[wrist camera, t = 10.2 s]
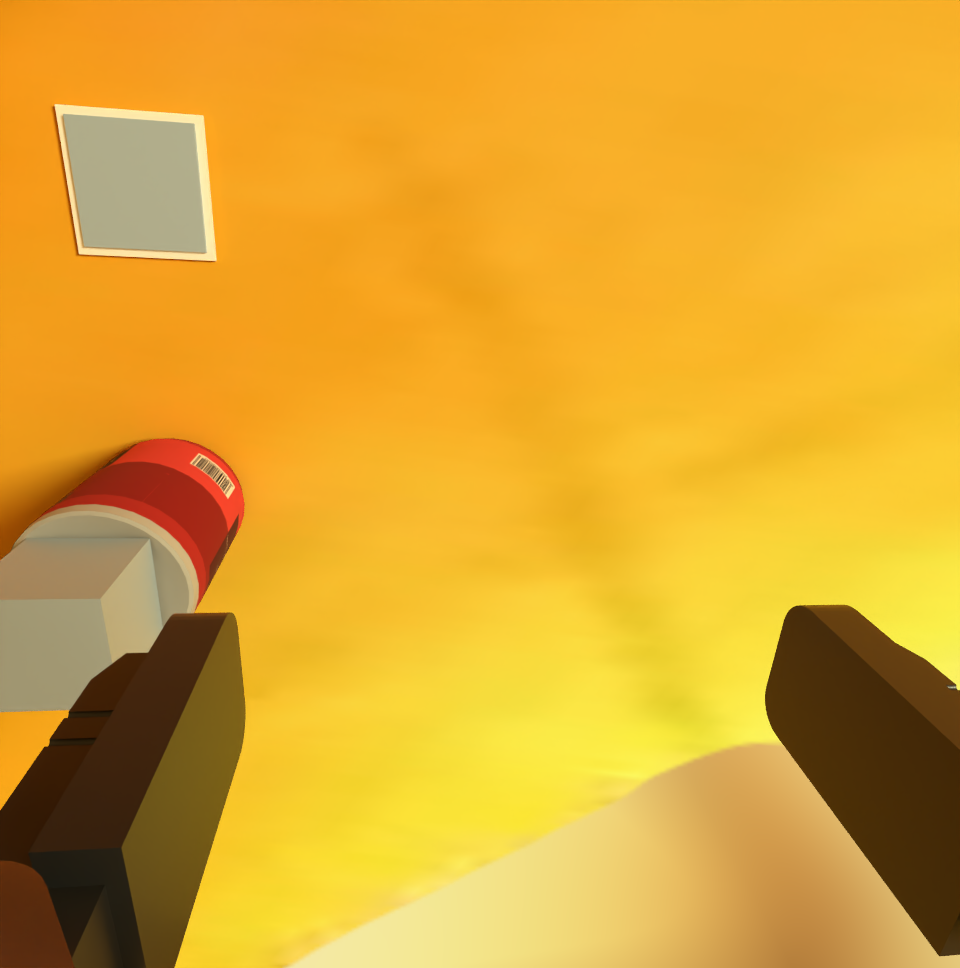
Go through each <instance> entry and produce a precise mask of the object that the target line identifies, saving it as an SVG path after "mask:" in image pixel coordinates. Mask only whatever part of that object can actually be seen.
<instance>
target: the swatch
mask: <svg viewBox="0 0 960 968" xmlns="http://www.w3.org/2000/svg"><path fill="white" fill-rule="evenodd" d="M55 110H56V116H57V122H58V129H59V135H60V141H61V147H62V153H63V159H64V165H65V171H66V178H67V184H68V190H69V196H70V202H71V208H72V214H73V220H74V227H75V233H76V239H77V245H78V251H79V254H85V255H105V256H125V257H145V258H165V259H186V260H206V261H217V259H216V248H215V237H214V226H213V215H212V204H211V193H210V182H209V170H208V159H207V148H206V137H205V126H204V116H202V115H189V114H176V113H163V112H150V111H137V110H123V109H110V108H97V107H84V106H71V105H58V104H55Z"/></svg>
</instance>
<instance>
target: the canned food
mask: <svg viewBox="0 0 960 968" xmlns="http://www.w3.org/2000/svg"><path fill="white" fill-rule="evenodd" d="M243 516H244V499H243V494H242V489H241V486H240V483H239V481H238V479H237V477H236V475H235V474H234V472H233V471H232V469H231V468H230V467H229V465H228V464H227V463H226V462H225V461H224V460H223V459H222V458H220V457H219V456H218V455H216V454H215V453H214V452H212V451H211V450H209V449H207V448H205V447H203V446H201V445H199V444H196V443H193V442H189V441H186V440H179V439H153V440H149V441H144V442H140V443H138V444H135V445H133V446H131V447H128V448H127V449H126V450H124V451H123V452H122V453H120V454H119V455H117V456H116V457H115V458H114V459H112V460H111V461H110V462H108V463H107V464H106V465H105V466H103V467H102V468H101V469H100V470H98V471H97V472H96V473H94V474H93V475H92V476H91V477H89V478H88V479H87V480H85V481H84V482H83V483H82V484H80V485H79V486H78V487H77V488H75V489H74V490H73V491H71V492H70V493H69V494H68V495H66V496H65V497H64V498H62V499H61V500H60V501H59V502H57V503H56V504H55V505H54V506H52V507H51V508H50V509H48V510H47V511H46V512H45V513H43V514H42V515H41V516H40V517H39V518H38V519H37V520H35V521H34V522H33V523H32V524H30V525H29V527H28V528H27V529H26V530H25V531H24V532H23V534H22V535H21V536H20V537H19V538H18V539H17V541H16V542H15V543H14V545H13V547H12V550H13V549H14V548H16V547H17V546H18V545H19V544H21V543H22V542H23V541H24V540H25V539H27V538H150V543H151V549H152V556H153V563H154V570H155V577H156V584H157V590H158V597H159V604H160V611H161V618H162V625H163V627H164V625H165V624H166V622H167V620H168V619H169V617H170V616H171V615H172V614H176V613H194V612H195V610H196V608H197V607H198V605H199V603H200V601H201V600H202V598H203V596H204V594H205V592H206V590H207V588H208V587H209V585H210V583H211V581H212V579H213V577H214V575H215V573H216V571H217V570H218V568H219V566H220V564H221V562H222V560H223V558H224V556H225V554H226V553H227V551H228V549H229V547H230V545H231V543H232V541H233V539H234V538H235V536H236V534H237V532H238V530H239V528H240V526H241V523H242V520H243ZM12 550H11V551H12Z"/></svg>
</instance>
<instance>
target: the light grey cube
mask: <svg viewBox="0 0 960 968" xmlns="http://www.w3.org/2000/svg"><path fill="white" fill-rule="evenodd" d="M162 629H163V625H162V618H161V611H160V604H159V597H158V590H157V584H156V577H155V570H154V563H153V556H152V549H151V543H150V538H27V539H25V540H24V541H23V542H22V543H21V544H19V545H18V546H17V547H16V548H14V549H13V550H12V551H11V552H10V553H8V554H7V555H6V556H5V557H4V558H2V559H1V560H0V712H17V711H49V710H70V709H71V708H72V706H73V705H74V703H75V702H76V700H77V699H78V697H79V696H80V695H81V693H82V692H83V690H84V689H85V687H86V686H87V684H88V683H89V682H90V680H91V679H92V678H94V677H95V676H96V675H98V674H99V673H100V672H102V671H103V670H104V669H106V668H107V667H108V666H110V665H111V664H112V663H114V662H115V661H116V660H118V659H119V658H120V657H122V656H123V655H124V654H126V653H148V652H149V650H150V649H151V647H152V645H153V644H154V642H155V640H156V639H157V637H158V635H159V634H160V632H161V630H162Z"/></svg>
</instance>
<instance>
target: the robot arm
mask: <svg viewBox="0 0 960 968" xmlns="http://www.w3.org/2000/svg"><path fill="white" fill-rule="evenodd" d="M765 705H766V711H767V716H768V719H769V722H770V725H771V727H772V729H773V731H774V732H775V734H776V735H777V737H778V738H779V740H780V741H781V742H782V744H783V745H784V746H785V748H786V749H787V750H788V752H789V753H790V754H791V756H792V757H793V758H794V760H795V761H796V763H797V764H798V765H799V767H800V768H801V769H802V771H803V772H804V773H805V775H806V776H807V778H808V779H809V780H810V782H811V783H812V784H813V786H814V787H815V788H816V790H817V791H818V792H819V794H820V795H821V796H822V798H823V799H824V801H825V802H826V803H827V805H828V806H829V807H830V809H831V810H832V811H833V813H834V814H835V815H836V817H837V818H838V820H839V821H840V822H841V824H842V825H843V826H844V828H845V829H846V830H847V832H848V833H849V834H850V836H851V837H852V838H853V840H854V841H855V843H856V844H857V845H858V847H859V848H860V849H861V851H862V852H863V853H864V855H865V856H866V858H867V859H868V860H869V862H870V863H871V864H872V866H873V867H874V868H875V870H876V871H877V872H878V874H879V875H880V876H881V878H882V879H883V881H884V882H885V883H886V885H887V886H888V887H889V889H890V890H891V891H892V893H893V894H894V895H895V897H896V898H897V900H898V901H899V902H900V903H901V905H902V906H903V907H904V909H905V910H906V912H907V913H908V914H909V916H910V917H911V919H912V920H913V921H914V923H915V924H916V925H917V927H918V928H919V929H920V931H921V932H922V933H923V935H924V936H925V937H926V939H927V940H928V941H929V943H930V944H931V946H932V947H933V948H934V950H935V951H936V952H937V954H938V955H939V956H949V955H960V690H957V688H956V684H955V683H953V682H952V681H951V680H950V679H948V678H947V677H946V676H945V675H944V674H942V673H941V672H940V671H939V670H938V669H936V668H935V667H934V666H933V665H932V664H930V663H929V662H928V661H927V660H925V659H924V658H922V657H920V656H918V655H916V654H915V653H913V652H911V651H909V650H907V649H906V648H904V647H902V646H900V645H898V644H896V643H895V642H894V641H892V640H891V639H890V638H889V637H888V636H886V635H885V634H884V633H883V632H882V631H880V630H879V629H878V628H877V627H876V626H875V625H873V624H872V623H871V622H870V621H869V620H867V619H866V618H865V617H864V616H863V615H861V614H860V613H859V612H858V611H857V610H855V609H854V608H852V607H850V606H848V605H801V606H795V607H793V608H791V609H790V610H789V612H788V613H787V615H786V617H785V619H784V623H783V626H782V630H781V634H780V638H779V642H778V645H777V649H776V653H775V657H774V660H773V664H772V668H771V672H770V676H769V679H768V683H767V687H766V692H765ZM244 729H245V698H244V687H243V677H242V667H241V657H240V647H239V636H238V627H237V622H236V618H235V616H234V614H233V613H176V614H172V615H171V616H170V617H169V619H168V620H167V622H166V624H165V625H164V627H163V629H162V630H161V632H160V634H159V635H158V637H157V639H156V640H155V642H154V644H153V645H152V647H151V649H150V650H149V652H148V653H126V654H124V655H123V656H122V657H120V658H119V659H118V660H116V661H115V662H114V663H112V664H111V665H110V666H108V667H107V668H106V669H104V670H103V671H102V672H100V673H99V674H98V675H96V676H95V677H94V678H92V679H91V680H90V682H89V683H88V684H87V686H86V687H85V689H84V690H83V692H82V693H81V695H80V696H79V697H78V699H77V700H76V702H75V703H74V705H73V706H72V708H71V709H70V711H69V716H68V718H64V719H63V721H62V722H61V724H60V725H59V726H58V728H57V729H56V731H55V732H54V734H53V735H52V737H51V738H50V743H49V746H48V747H44V748H43V750H42V751H41V753H40V754H39V755H38V757H37V758H36V760H35V761H34V763H33V764H32V766H31V767H30V768H29V770H28V771H27V773H26V774H25V776H24V777H23V779H22V780H21V781H20V783H19V784H18V786H17V787H16V789H15V790H14V792H13V793H12V795H11V796H10V797H9V799H8V800H7V802H6V803H5V805H4V806H3V808H2V809H1V810H0V968H174V967H175V964H176V960H177V957H178V954H179V951H180V948H181V944H182V941H183V938H184V935H185V931H186V928H187V925H188V922H189V918H190V915H191V912H192V909H193V905H194V902H195V899H196V896H197V892H198V889H199V886H200V883H201V879H202V876H203V873H204V870H205V867H206V863H207V860H208V857H209V854H210V850H211V847H212V844H213V841H214V837H215V834H216V831H217V828H218V824H219V821H220V818H221V815H222V811H223V808H224V805H225V802H226V798H227V795H228V792H229V789H230V786H231V782H232V779H233V776H234V773H235V769H236V766H237V763H238V760H239V756H240V753H241V749H242V744H243V738H244Z"/></svg>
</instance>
